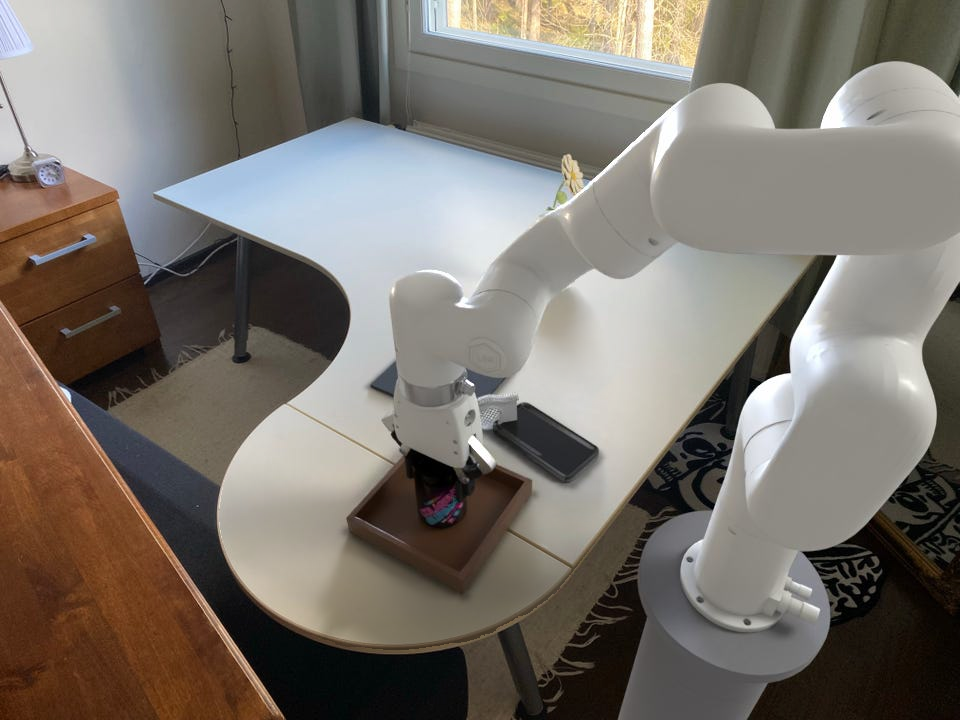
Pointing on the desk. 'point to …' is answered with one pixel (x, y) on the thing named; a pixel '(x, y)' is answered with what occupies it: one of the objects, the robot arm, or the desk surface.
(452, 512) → the supplement container
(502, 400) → the garden wall model
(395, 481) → the tray
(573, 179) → the flower in vase
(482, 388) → the mat
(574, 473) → the phone
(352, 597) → the desk surface
